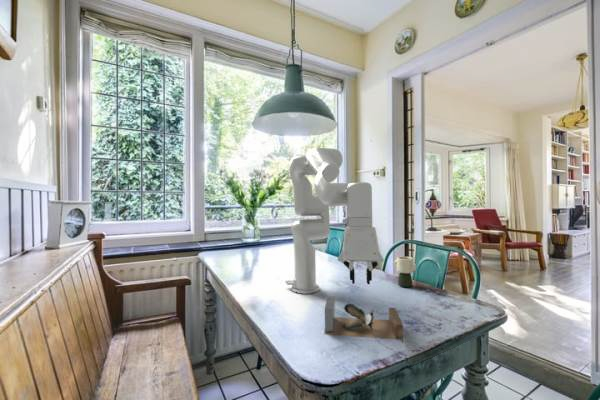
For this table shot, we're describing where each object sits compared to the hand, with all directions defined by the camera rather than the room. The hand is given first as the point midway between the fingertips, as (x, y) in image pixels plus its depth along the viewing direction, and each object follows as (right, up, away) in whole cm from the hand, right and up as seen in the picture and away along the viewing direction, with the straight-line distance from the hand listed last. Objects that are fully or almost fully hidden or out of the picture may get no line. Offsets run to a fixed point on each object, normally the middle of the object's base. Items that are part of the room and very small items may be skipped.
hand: (360, 282), depth 84 cm
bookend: (-9, -14, +2) cm, 17 cm away
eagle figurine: (-1, -14, 0) cm, 14 cm away
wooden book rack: (0, -15, 0) cm, 15 cm away
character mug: (+30, -15, +43) cm, 54 cm away
